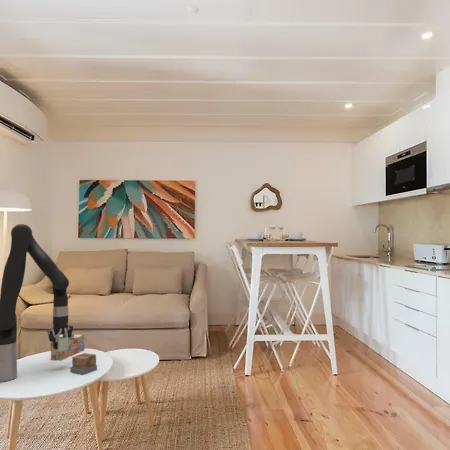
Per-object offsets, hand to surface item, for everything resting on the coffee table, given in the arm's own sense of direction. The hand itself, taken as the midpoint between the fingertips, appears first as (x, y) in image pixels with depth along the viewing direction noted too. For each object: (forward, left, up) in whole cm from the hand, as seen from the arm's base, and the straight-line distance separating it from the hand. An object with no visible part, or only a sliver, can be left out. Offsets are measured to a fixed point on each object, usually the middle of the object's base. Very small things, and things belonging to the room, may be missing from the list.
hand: (60, 347), depth 212 cm
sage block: (0, 0, -1) cm, 1 cm away
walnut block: (+4, -14, -8) cm, 16 cm away
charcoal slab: (+3, -13, -11) cm, 18 cm away
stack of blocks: (+19, +19, -11) cm, 29 cm away
